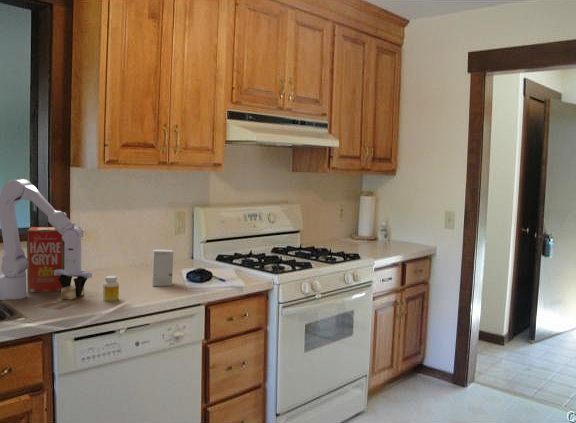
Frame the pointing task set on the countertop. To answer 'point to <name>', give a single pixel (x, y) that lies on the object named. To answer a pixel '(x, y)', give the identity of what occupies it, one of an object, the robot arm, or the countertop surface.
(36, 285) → the food packaging
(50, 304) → the marked board
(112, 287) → the supplement bottle
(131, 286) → the countertop surface
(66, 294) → the block
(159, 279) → the skincare box
